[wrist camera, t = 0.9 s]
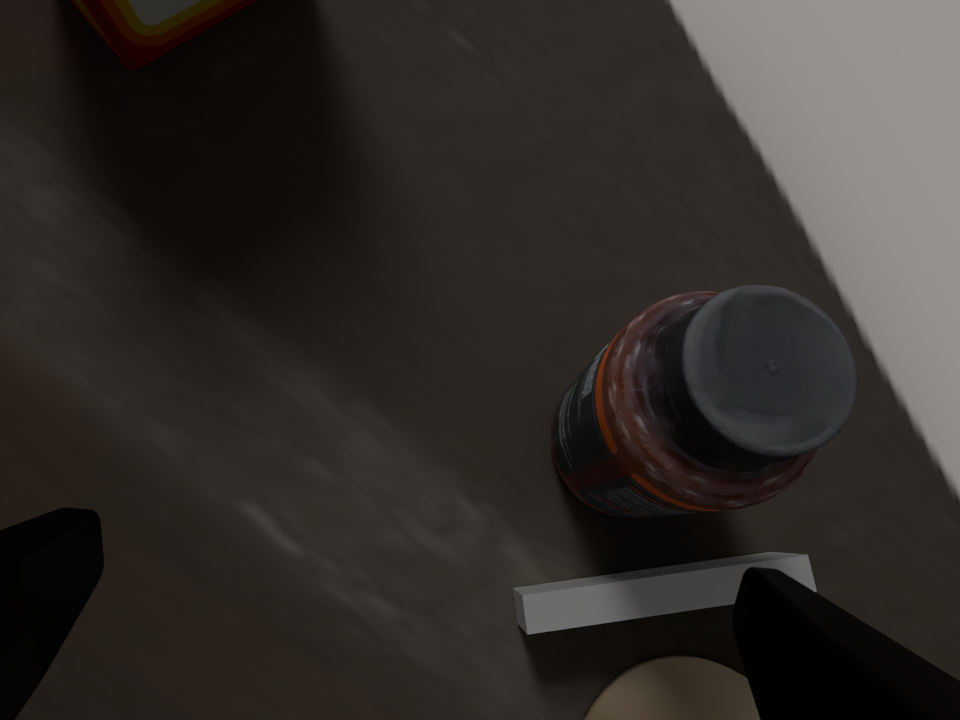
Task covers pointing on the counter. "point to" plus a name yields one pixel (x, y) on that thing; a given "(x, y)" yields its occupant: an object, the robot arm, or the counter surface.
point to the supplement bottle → (704, 404)
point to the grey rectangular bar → (646, 591)
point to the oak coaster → (675, 692)
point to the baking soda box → (153, 24)
